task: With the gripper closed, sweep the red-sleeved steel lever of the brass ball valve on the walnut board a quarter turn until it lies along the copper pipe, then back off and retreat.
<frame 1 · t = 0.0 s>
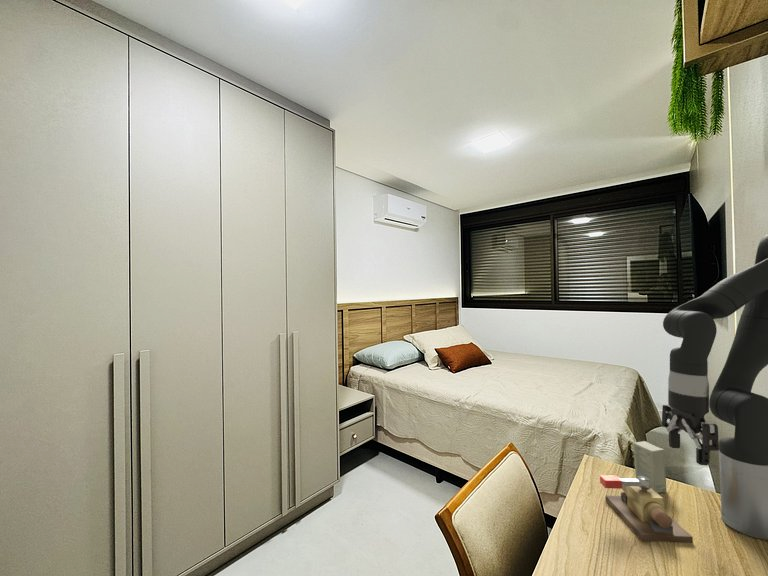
hand: (687, 455, 83), 17 cm above the table, tool pointing down, fingers open, 8 cm apart
valve lever: (625, 482, 85), point 9 cm above the table, hinge at 0.0°
valve rig: (645, 520, 85), on the table
skincare box: (650, 487, 99), on the table
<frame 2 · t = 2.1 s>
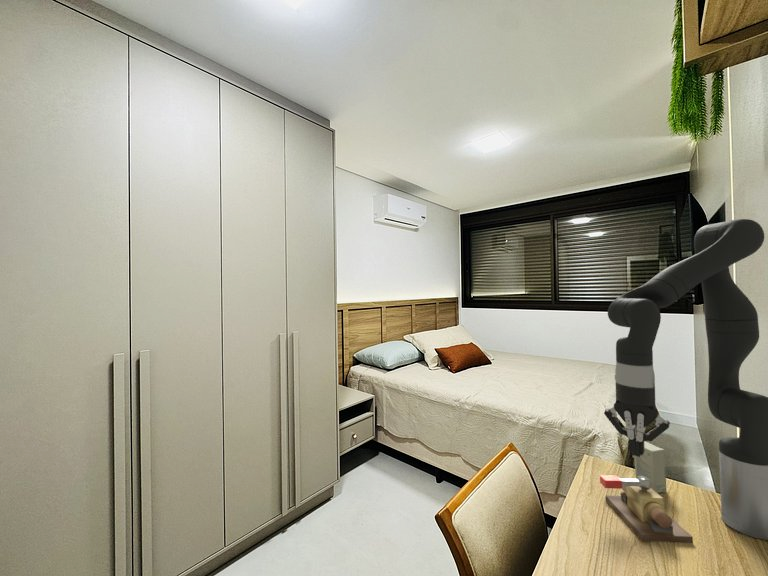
hand: (636, 454, 79), 20 cm above the table, tool pointing down, fingers closed
nothing on the table moved.
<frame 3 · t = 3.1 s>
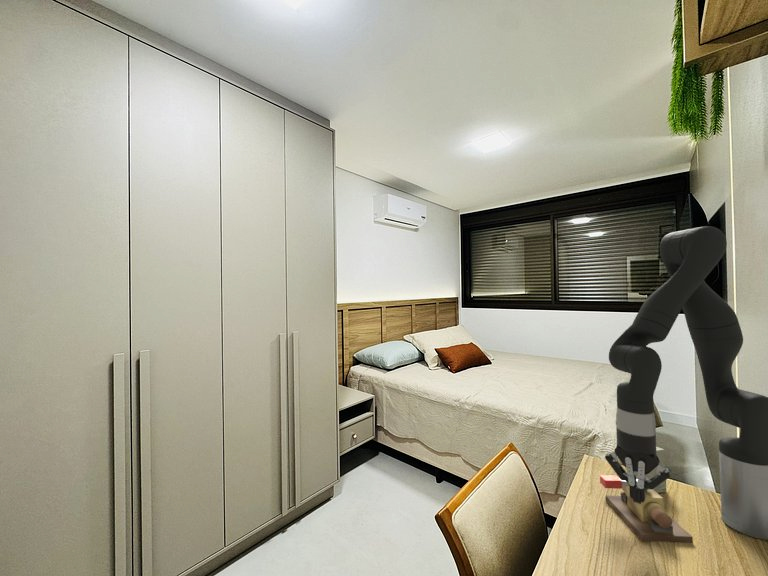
hand: (637, 501, 79), 9 cm above the table, tool pointing down, fingers closed
nothing on the table moved.
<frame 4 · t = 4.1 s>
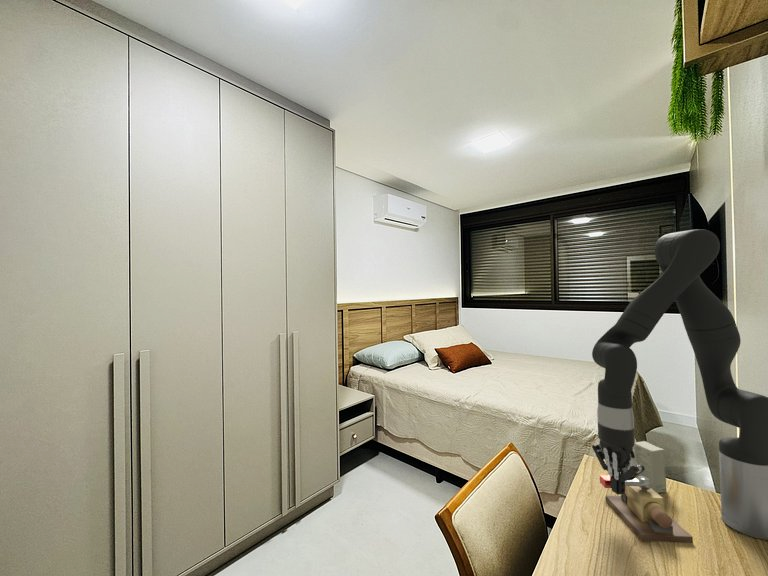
hand: (617, 492, 83), 9 cm above the table, tool pointing down, fingers closed
valve lever: (625, 482, 86), point 10 cm above the table, hinge at 0.6°, touching gripper
everything else where it was.
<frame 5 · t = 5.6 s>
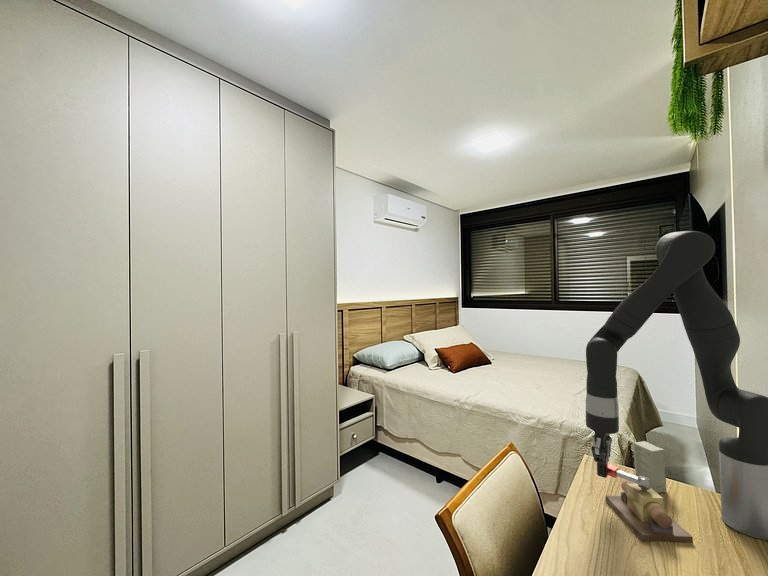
hand: (602, 475, 90), 9 cm above the table, tool pointing down, fingers closed
valve lever: (624, 475, 89), point 9 cm above the table, hinge at 48.4°, touching gripper
everything else where it was.
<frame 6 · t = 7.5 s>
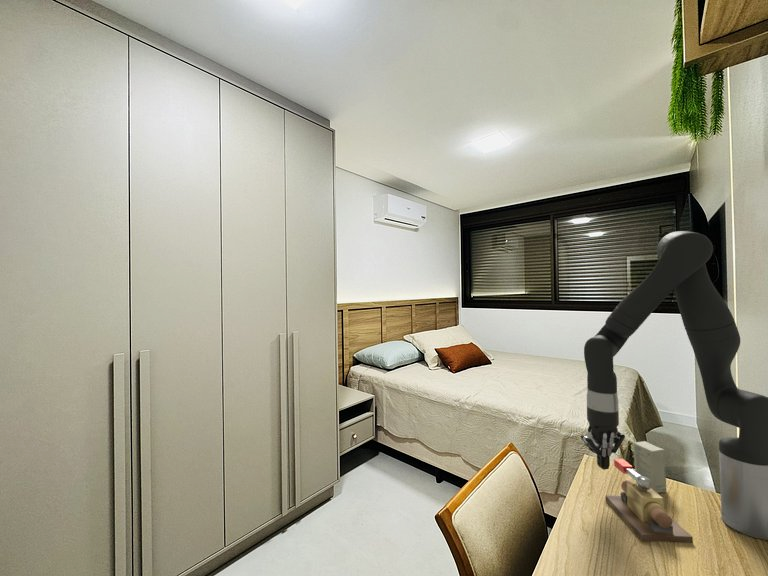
hand: (603, 467, 94), 9 cm above the table, tool pointing down, fingers closed
valve lever: (632, 473, 89), point 10 cm above the table, hinge at 87.7°
everything else where it was.
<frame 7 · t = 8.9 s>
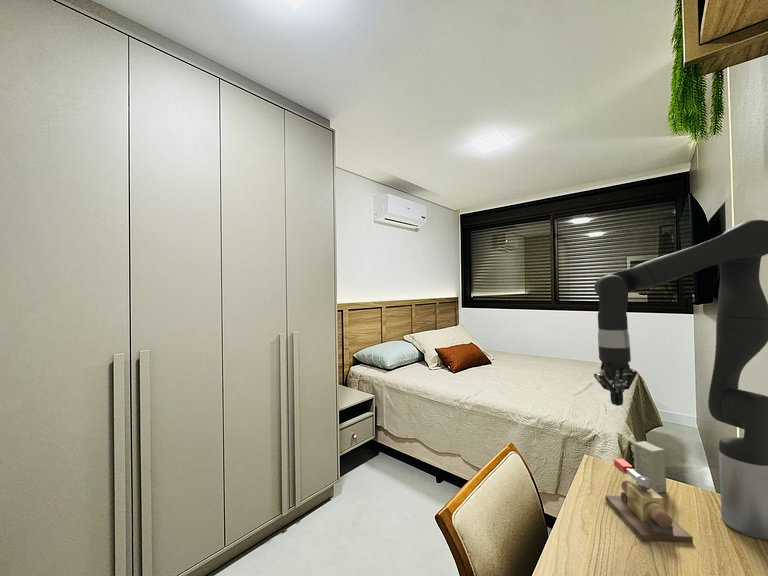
hand: (617, 404, 96), 26 cm above the table, tool pointing down, fingers closed
nothing on the table moved.
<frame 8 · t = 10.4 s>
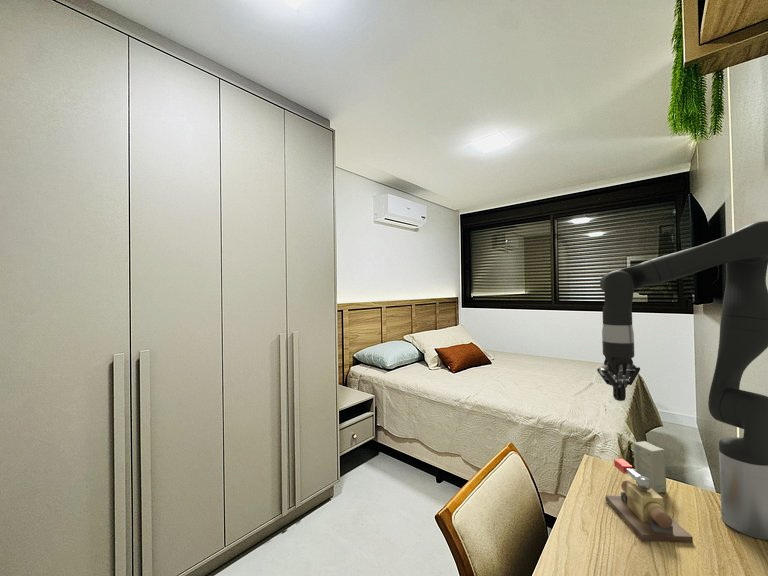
hand: (619, 399, 96), 27 cm above the table, tool pointing down, fingers closed
nothing on the table moved.
at the end: valve lever at +88° (first picture: +0°); skincare box moved 0.2 cm from its start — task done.
